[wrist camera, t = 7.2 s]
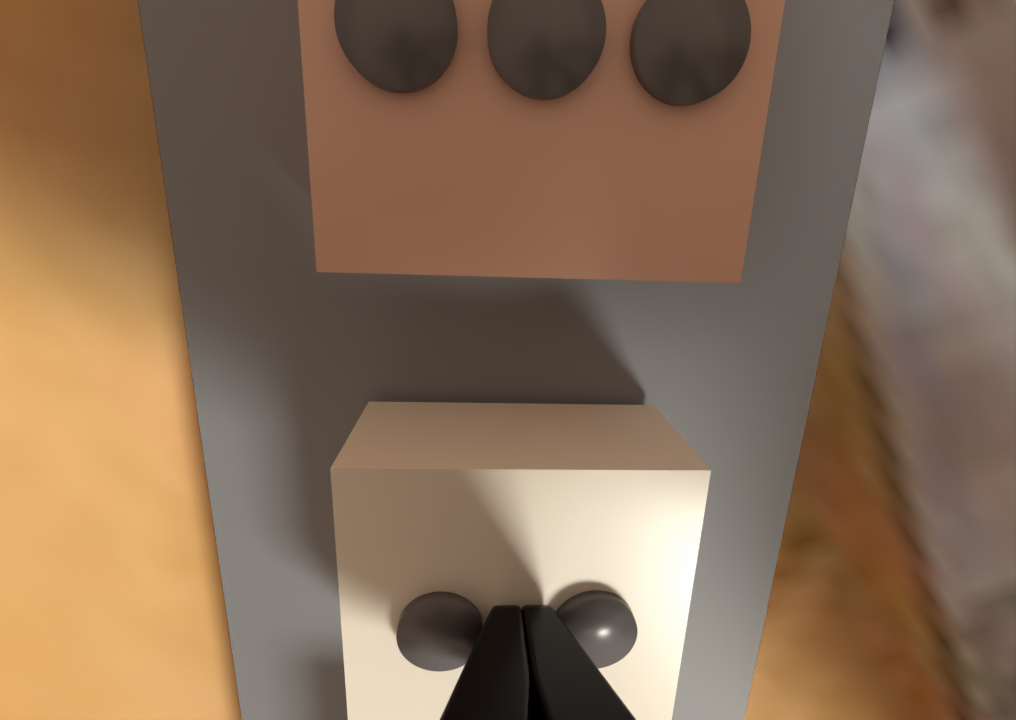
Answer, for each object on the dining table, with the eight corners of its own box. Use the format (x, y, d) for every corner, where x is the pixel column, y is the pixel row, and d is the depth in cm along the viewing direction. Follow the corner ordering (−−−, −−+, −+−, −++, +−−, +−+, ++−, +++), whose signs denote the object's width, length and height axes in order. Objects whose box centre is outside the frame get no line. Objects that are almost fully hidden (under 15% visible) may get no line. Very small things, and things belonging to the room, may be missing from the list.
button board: (884, -165, 8) (938, -215, 7) (689, 861, 14) (704, 907, 14) (145, -224, 7) (95, -287, 6) (286, 876, 14) (271, 926, 13)
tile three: (714, -105, 7) (838, -273, 5) (670, 263, 9) (748, 285, 6) (345, -131, 7) (267, -325, 4) (362, 254, 8) (311, 273, 6)
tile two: (654, 404, 9) (718, 478, 7) (626, 633, 11) (670, 763, 8) (368, 401, 9) (325, 475, 6) (379, 636, 10) (347, 772, 8)
